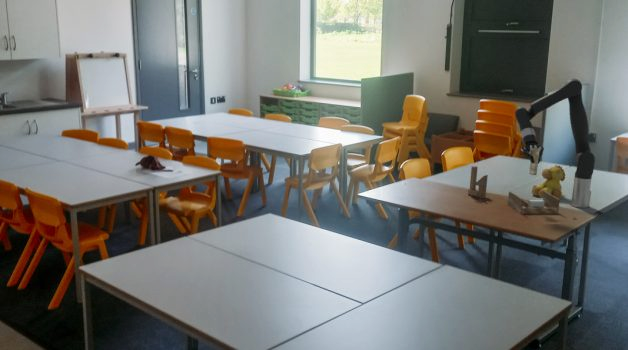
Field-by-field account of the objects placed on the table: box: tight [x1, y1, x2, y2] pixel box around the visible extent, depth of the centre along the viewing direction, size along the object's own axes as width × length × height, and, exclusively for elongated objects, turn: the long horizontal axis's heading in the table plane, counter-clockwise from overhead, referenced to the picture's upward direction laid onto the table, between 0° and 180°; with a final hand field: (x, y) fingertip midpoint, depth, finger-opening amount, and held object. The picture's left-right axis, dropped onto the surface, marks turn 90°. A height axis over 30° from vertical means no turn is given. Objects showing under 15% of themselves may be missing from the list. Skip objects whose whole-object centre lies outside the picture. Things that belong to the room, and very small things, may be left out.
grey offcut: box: [527, 199, 545, 207], centre depth 370 cm, size 8×3×3 cm, turn 96°
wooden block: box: [467, 165, 488, 199], centre depth 403 cm, size 4×11×18 cm, turn 41°
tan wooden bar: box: [529, 148, 540, 176], centre depth 373 cm, size 2×4×15 cm, turn 6°
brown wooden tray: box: [507, 190, 561, 215], centre depth 374 cm, size 22×18×9 cm
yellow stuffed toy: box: [531, 164, 566, 200], centre depth 409 cm, size 20×24×19 cm
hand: (535, 162), depth 371 cm, fingers closed on tan wooden bar, 2 cm apart
